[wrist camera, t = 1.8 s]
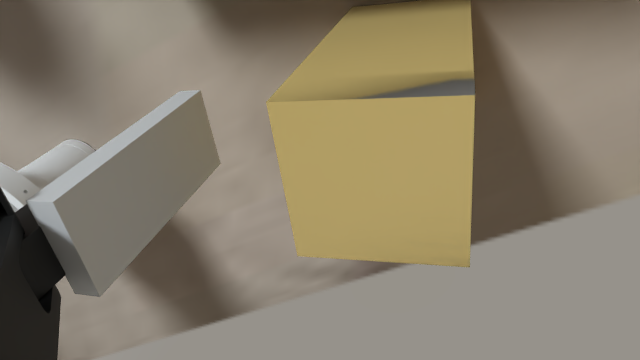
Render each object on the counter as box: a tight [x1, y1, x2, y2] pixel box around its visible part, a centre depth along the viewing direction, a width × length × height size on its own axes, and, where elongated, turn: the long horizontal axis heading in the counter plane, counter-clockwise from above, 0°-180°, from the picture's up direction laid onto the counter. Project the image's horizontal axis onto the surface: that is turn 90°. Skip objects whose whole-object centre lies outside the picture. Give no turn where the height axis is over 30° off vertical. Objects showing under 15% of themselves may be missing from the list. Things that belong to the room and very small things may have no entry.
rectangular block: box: [266, 0, 475, 267], centre depth 15 cm, size 4×4×10 cm
